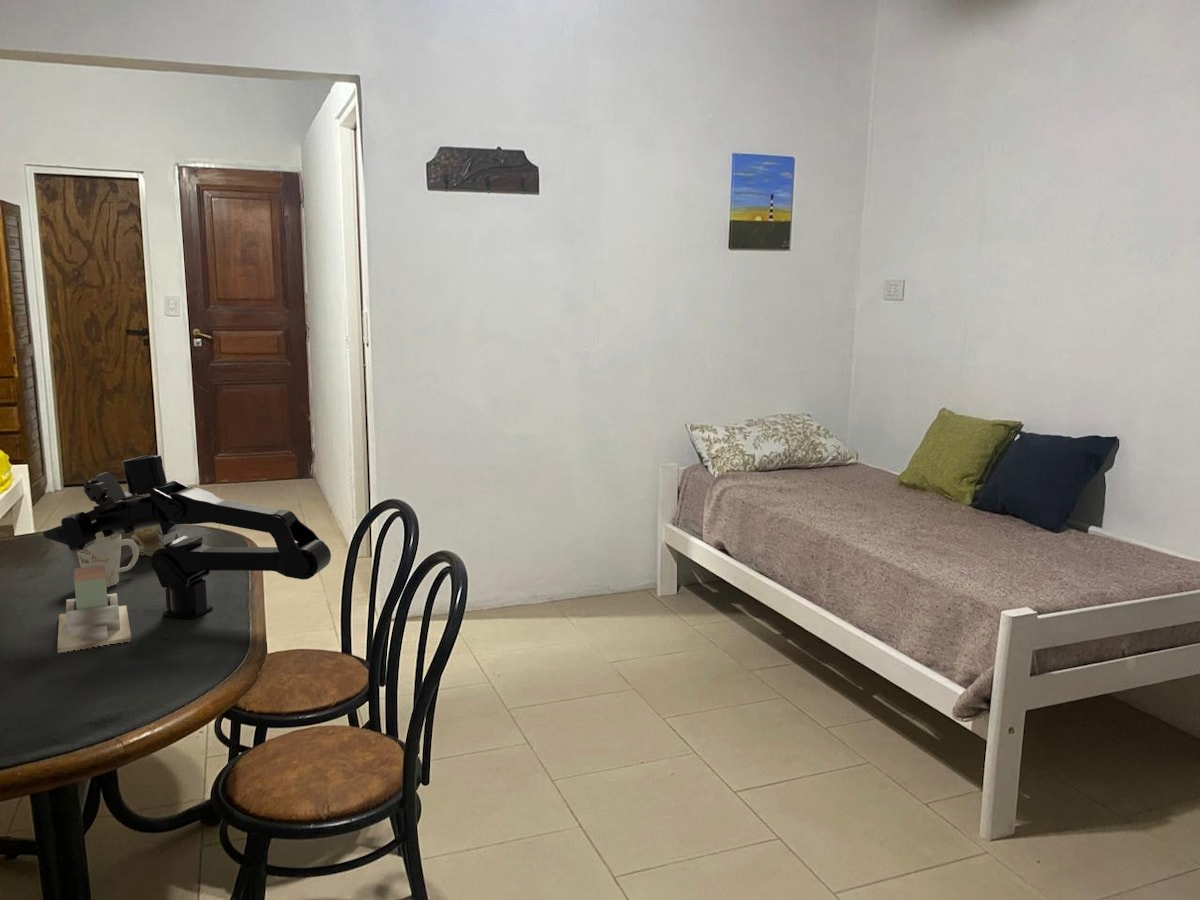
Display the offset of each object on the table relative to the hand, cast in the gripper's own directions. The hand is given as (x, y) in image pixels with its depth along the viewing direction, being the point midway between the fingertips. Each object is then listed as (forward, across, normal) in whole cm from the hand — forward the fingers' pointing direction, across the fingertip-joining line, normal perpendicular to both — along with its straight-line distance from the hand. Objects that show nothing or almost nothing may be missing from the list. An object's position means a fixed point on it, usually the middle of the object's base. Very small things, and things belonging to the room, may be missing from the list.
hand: (60, 527), depth 171 cm
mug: (+4, -15, +16) cm, 22 cm away
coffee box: (+5, -35, +17) cm, 39 cm away
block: (-9, +11, +14) cm, 20 cm away
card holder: (-8, +11, +17) cm, 22 cm away
